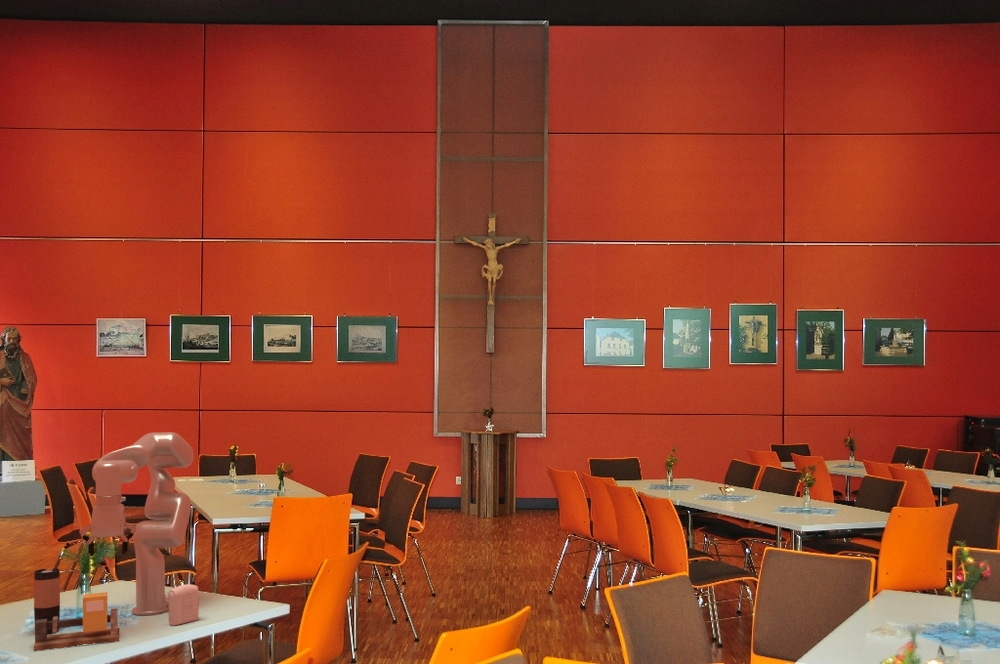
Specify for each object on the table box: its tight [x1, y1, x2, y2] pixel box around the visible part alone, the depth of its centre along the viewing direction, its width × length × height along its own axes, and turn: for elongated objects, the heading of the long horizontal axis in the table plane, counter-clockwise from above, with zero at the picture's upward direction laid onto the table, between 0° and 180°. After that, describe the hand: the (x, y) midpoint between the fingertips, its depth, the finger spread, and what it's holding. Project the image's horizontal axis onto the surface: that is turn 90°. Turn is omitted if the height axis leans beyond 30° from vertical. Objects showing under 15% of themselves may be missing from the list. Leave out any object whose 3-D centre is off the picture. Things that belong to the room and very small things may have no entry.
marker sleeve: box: [82, 591, 109, 633], centre depth 303 cm, size 7×6×11 cm
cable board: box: [33, 607, 120, 652], centre depth 301 cm, size 24×12×8 cm, turn 111°
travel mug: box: [33, 567, 61, 635], centre depth 313 cm, size 8×8×20 cm
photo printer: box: [168, 583, 200, 626], centre depth 322 cm, size 10×4×12 cm, turn 144°
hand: (108, 554), depth 309 cm, fingers open, 9 cm apart
